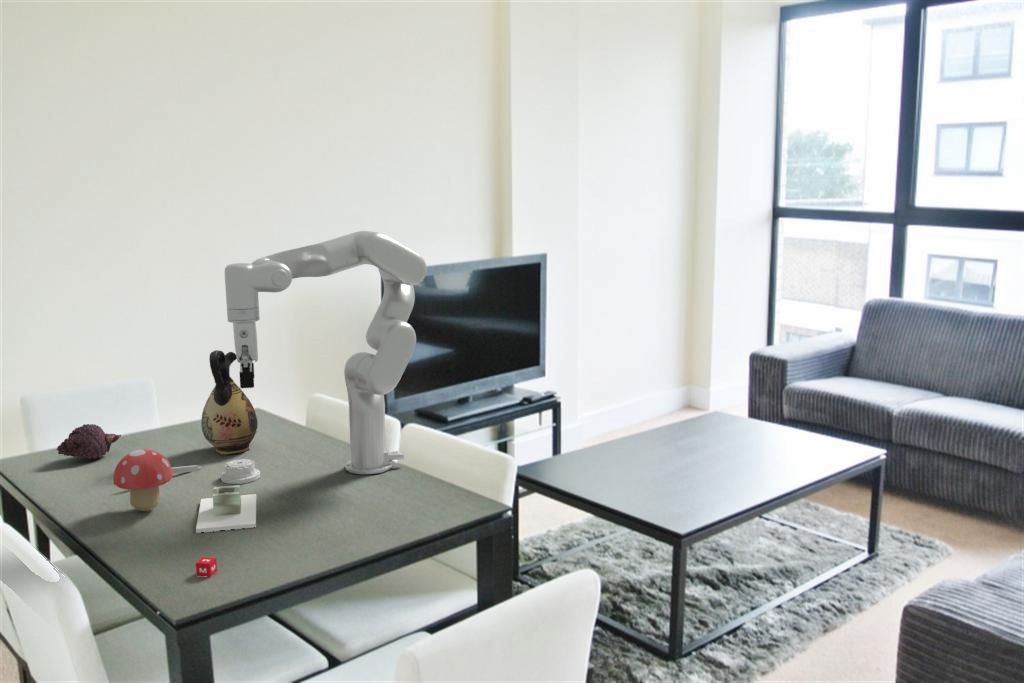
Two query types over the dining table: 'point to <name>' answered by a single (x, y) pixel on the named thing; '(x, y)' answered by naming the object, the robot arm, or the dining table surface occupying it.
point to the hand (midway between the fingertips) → (247, 383)
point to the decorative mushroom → (143, 477)
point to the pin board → (227, 516)
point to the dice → (206, 566)
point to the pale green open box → (226, 500)
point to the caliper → (185, 469)
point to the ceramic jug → (227, 410)
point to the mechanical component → (240, 472)
